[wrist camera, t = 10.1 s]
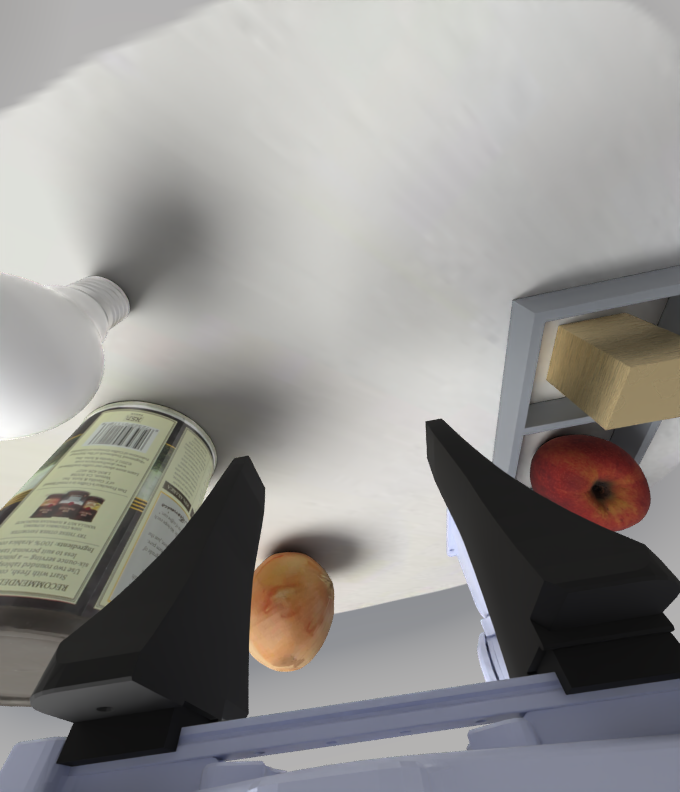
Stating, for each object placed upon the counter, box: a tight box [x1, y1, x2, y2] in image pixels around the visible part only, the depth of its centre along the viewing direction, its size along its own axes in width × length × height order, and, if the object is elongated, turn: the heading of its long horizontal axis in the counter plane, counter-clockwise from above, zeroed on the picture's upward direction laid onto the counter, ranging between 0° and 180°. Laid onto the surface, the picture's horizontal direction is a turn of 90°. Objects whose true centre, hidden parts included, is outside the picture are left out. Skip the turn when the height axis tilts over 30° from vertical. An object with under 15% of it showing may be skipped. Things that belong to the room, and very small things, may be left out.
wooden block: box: [546, 313, 680, 430], centre depth 20 cm, size 4×4×6 cm
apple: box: [530, 435, 651, 532], centre depth 25 cm, size 7×8×8 cm
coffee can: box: [0, 401, 217, 707], centre depth 20 cm, size 10×10×14 cm
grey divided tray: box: [492, 265, 680, 491], centre depth 25 cm, size 21×11×2 cm, turn 11°
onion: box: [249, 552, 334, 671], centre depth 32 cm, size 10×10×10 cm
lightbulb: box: [0, 272, 130, 441], centre depth 14 cm, size 6×6×11 cm
